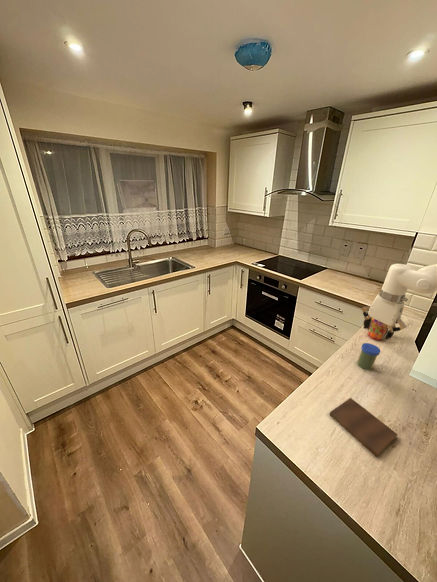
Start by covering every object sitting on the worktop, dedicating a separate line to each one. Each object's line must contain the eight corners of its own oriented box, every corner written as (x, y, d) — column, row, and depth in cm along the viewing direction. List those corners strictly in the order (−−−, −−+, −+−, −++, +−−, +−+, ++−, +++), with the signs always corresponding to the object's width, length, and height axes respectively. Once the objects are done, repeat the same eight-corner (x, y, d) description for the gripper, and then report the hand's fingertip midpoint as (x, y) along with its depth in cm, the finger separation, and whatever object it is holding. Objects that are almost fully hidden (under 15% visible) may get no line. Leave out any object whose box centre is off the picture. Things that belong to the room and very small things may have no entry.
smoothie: (363, 336, 125) (374, 303, 117) (368, 330, 130) (380, 298, 122) (380, 344, 120) (394, 310, 111) (385, 337, 125) (399, 305, 116)
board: (396, 437, 75) (397, 434, 75) (376, 457, 70) (377, 453, 69) (349, 400, 88) (350, 397, 87) (329, 414, 82) (330, 411, 81)
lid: (382, 353, 101) (383, 350, 100) (374, 358, 97) (375, 355, 97) (366, 344, 106) (367, 341, 105) (357, 348, 103) (358, 346, 102)
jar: (374, 367, 104) (381, 350, 100) (367, 371, 102) (374, 355, 98) (361, 358, 109) (367, 343, 105) (354, 363, 106) (360, 347, 102)
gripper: (422, 303, 85) (403, 341, 93) (373, 285, 99) (361, 320, 106) (412, 308, 82) (394, 347, 89) (363, 288, 95) (351, 324, 103)
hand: (376, 332), depth 98 cm, fingers open, 8 cm apart
